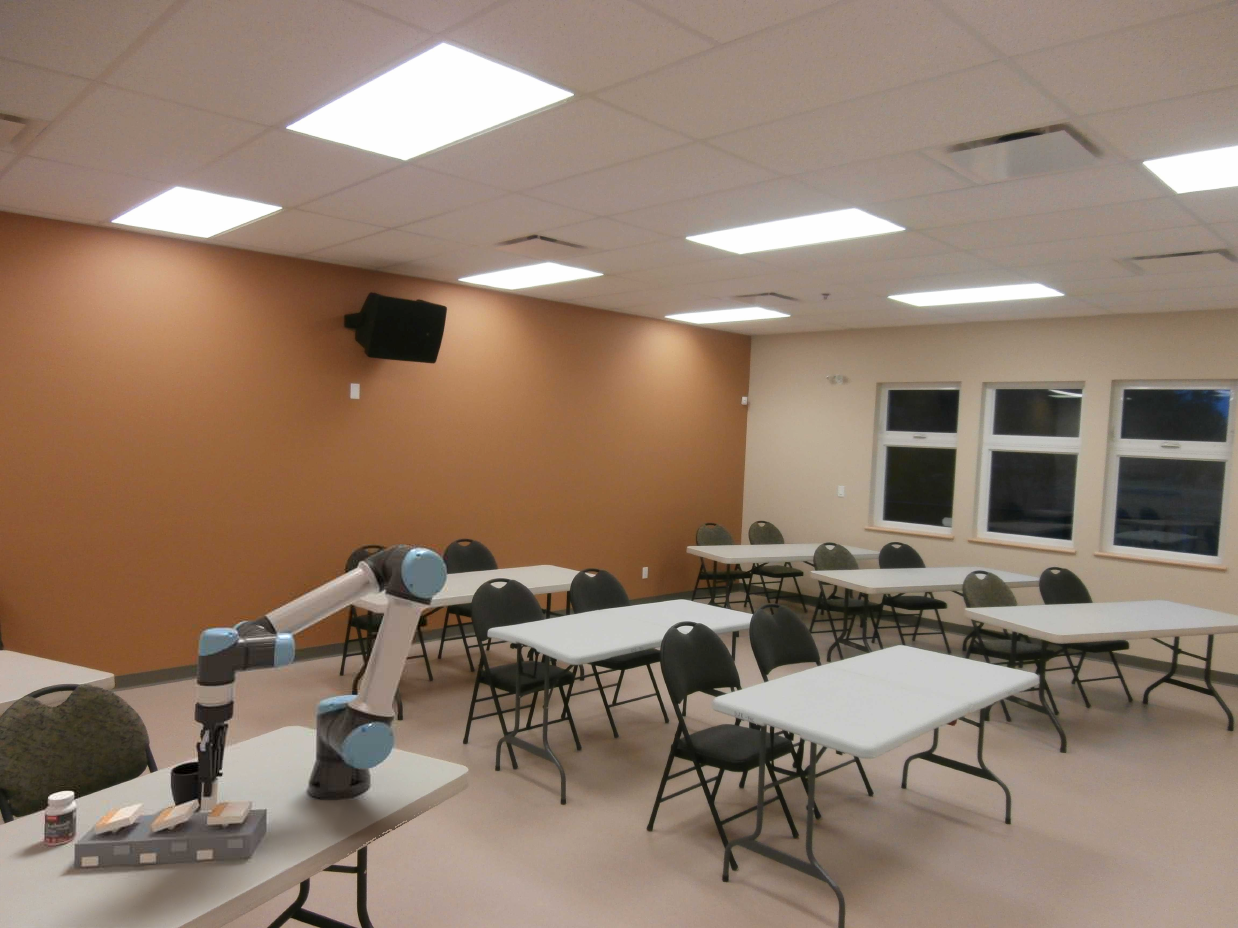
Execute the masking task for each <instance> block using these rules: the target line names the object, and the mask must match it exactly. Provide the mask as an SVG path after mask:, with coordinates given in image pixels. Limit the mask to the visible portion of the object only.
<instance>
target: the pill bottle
mask: <svg viewBox="0 0 1238 928" xmlns="http://www.w3.org/2000/svg"><path fill="white" fill-rule="evenodd" d="M73 800H75V792H74V791H72V790H64V791H63V790H62V791H59V792H55V793H52V794H50V795H48V798H47V807H46V808H45V811H44V834H43V836H44V837H43V843H44V844H45V845H46V846H52V847H53V846H60V845H64V844H67V843H69V842H71V841H73V840H74V839H75V838H76V837H77V803H76V802H75V801H73Z"/></svg>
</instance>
